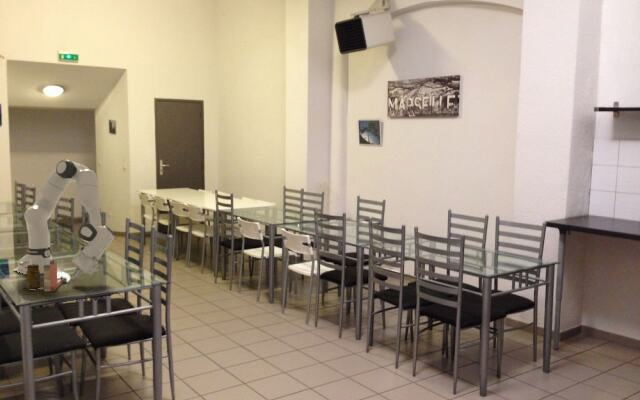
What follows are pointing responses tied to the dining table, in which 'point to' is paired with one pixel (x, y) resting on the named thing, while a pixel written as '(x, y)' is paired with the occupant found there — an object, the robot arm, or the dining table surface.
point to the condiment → (33, 277)
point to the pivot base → (64, 280)
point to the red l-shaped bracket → (54, 276)
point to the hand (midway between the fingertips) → (75, 276)
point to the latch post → (46, 277)
